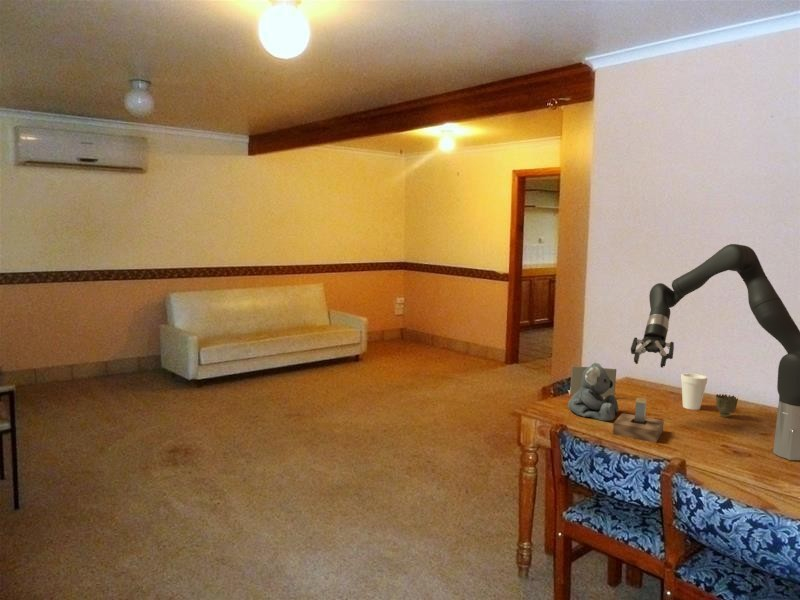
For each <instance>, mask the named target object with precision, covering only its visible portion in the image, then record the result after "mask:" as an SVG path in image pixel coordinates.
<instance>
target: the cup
mask: <svg viewBox="0 0 800 600" xmlns="http://www.w3.org/2000/svg"><path fill="white" fill-rule="evenodd" d="M715 397H716V398H715V399H716V400H715V401H716V409H717V411H718V412H720V413H719V414H720V417H723V418H730V417H731V416H732V414H733V413H734V412H735V410H736V408H737V404H738V401H739V397H737V396H735V395H731V394H729V395H728V394H726V393H725V394H724V393H722V394H720V393H719V394H718V393H717V394H715Z"/></svg>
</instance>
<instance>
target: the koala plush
mask: <svg viewBox="0 0 800 600" xmlns="http://www.w3.org/2000/svg"><path fill="white" fill-rule="evenodd" d="M587 367H588V368H587V369H586V370H585V371H584V372H583V374H582V381H581V383H582V386H581V388H580V390H579V391H577V393H575V394H574V395H573V396H571V398H570V399H569V400H568V402H567V403H568V404H567V406H568V409H569V410H570V412H573V414H574V413H575V414H576V415H577V416H580V417H583V418H586V417H588V418H590V417H591V418H592V419H593V420H597V421H603V422H611V421H614V419H615V417H616V414H617V413H618V412H619V404H618V401H617V397H616V395H608V396H606V397H605V398H603V397H602V396H601V394H603V393H605V392H606V391H607V390H608V389H609V388H612V386H613V382H612V381H611V380H610V379H609V377H608V375H607V373H606V372H605V370H604V369H603V368H604V367H603V366H601V364H600V362H596V361H595V362H592V363H591V365H590V366H587Z"/></svg>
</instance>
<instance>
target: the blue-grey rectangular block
mask: <svg viewBox="0 0 800 600" xmlns="http://www.w3.org/2000/svg"><path fill="white" fill-rule="evenodd" d="M646 410H647V398H645V397H636V399H635V410H634V411H635V412H634V415H635V420H634V423H638V424H643V425H644V423H645V417H646V412H647V411H646Z"/></svg>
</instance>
